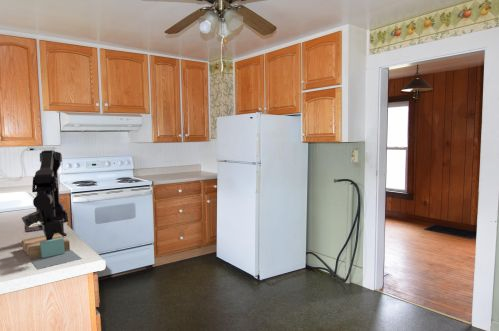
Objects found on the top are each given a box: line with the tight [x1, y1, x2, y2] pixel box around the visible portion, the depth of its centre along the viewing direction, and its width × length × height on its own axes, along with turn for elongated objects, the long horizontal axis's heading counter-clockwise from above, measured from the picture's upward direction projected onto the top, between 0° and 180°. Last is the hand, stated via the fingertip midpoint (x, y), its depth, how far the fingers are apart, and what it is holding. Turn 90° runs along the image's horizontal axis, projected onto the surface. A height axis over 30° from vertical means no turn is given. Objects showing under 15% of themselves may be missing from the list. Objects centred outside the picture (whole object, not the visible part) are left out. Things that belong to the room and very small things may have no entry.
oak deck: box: [21, 233, 71, 259], centre depth 148 cm, size 16×14×4 cm
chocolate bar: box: [25, 221, 43, 233], centre depth 183 cm, size 9×1×18 cm
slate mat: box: [29, 249, 82, 270], centre depth 137 cm, size 13×15×1 cm
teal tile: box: [40, 238, 66, 258], centre depth 141 cm, size 6×8×2 cm
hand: (49, 242), depth 143 cm, fingers closed
